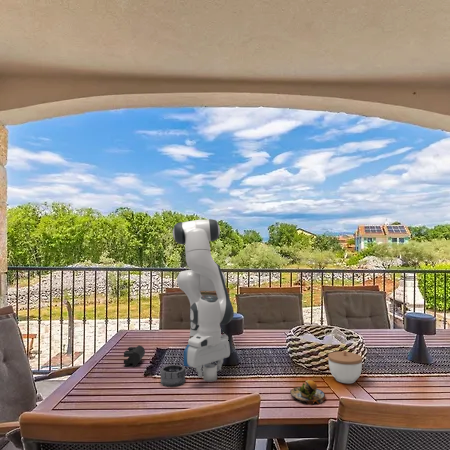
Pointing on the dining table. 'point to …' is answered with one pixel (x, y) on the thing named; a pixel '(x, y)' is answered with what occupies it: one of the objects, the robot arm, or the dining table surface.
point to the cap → (210, 372)
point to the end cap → (134, 356)
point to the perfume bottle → (186, 354)
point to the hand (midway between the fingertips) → (209, 373)
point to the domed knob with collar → (172, 375)
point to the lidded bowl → (345, 366)
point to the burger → (308, 393)
